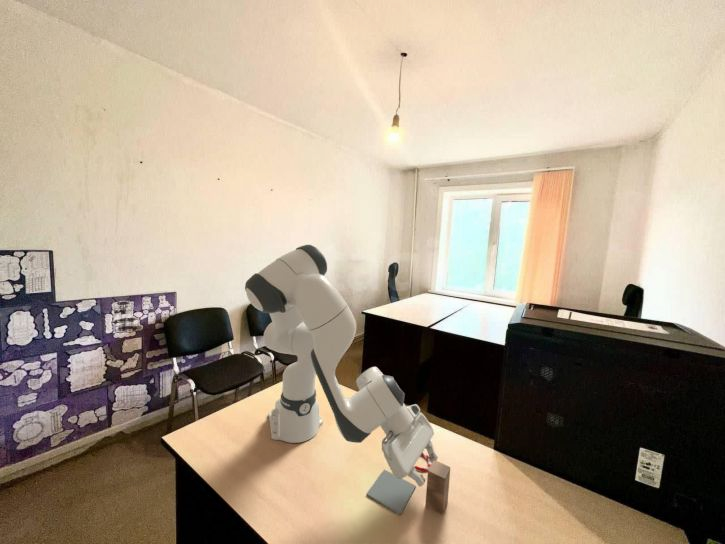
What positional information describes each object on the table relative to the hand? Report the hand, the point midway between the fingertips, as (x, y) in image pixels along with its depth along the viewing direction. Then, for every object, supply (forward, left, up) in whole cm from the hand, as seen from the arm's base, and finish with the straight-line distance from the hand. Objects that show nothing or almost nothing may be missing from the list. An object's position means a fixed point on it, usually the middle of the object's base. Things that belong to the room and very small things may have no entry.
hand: (429, 471), depth 75 cm
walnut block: (+2, +2, -8) cm, 9 cm away
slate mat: (-7, -6, -8) cm, 13 cm away
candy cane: (-14, +6, -9) cm, 18 cm away
